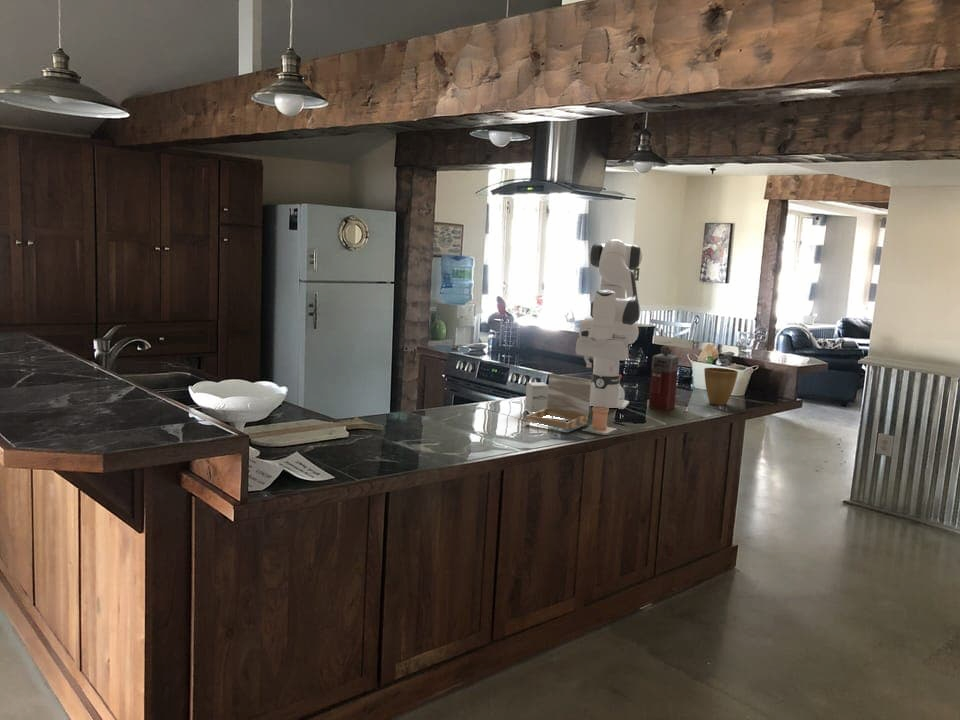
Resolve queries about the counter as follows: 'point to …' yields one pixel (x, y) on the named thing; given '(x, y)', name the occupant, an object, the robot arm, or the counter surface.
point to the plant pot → (719, 384)
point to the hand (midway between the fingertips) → (600, 369)
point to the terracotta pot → (599, 418)
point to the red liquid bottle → (663, 380)
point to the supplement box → (536, 396)
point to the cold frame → (565, 402)
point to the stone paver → (607, 430)
